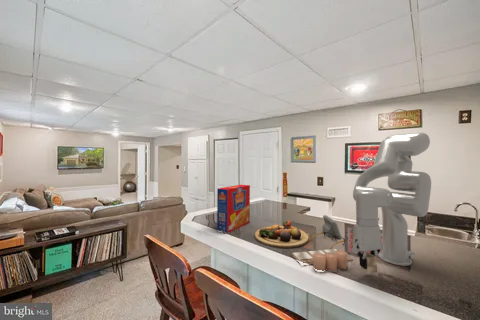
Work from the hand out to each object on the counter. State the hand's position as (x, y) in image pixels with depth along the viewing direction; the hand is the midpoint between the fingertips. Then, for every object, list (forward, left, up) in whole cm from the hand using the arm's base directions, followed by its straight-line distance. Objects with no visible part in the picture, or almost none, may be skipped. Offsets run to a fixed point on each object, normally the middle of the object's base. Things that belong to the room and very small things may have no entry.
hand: (368, 266), depth 84 cm
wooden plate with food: (+17, -47, -5) cm, 50 cm away
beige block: (0, 0, -2) cm, 2 cm away
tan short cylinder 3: (+5, -9, -4) cm, 11 cm away
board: (+9, -18, -4) cm, 21 cm away
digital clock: (-16, -45, -4) cm, 48 cm away
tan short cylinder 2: (+11, -8, -4) cm, 15 cm away
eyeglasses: (-4, -33, -5) cm, 34 cm away
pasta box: (+41, -71, -4) cm, 83 cm away
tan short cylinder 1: (+16, -8, -4) cm, 19 cm away
